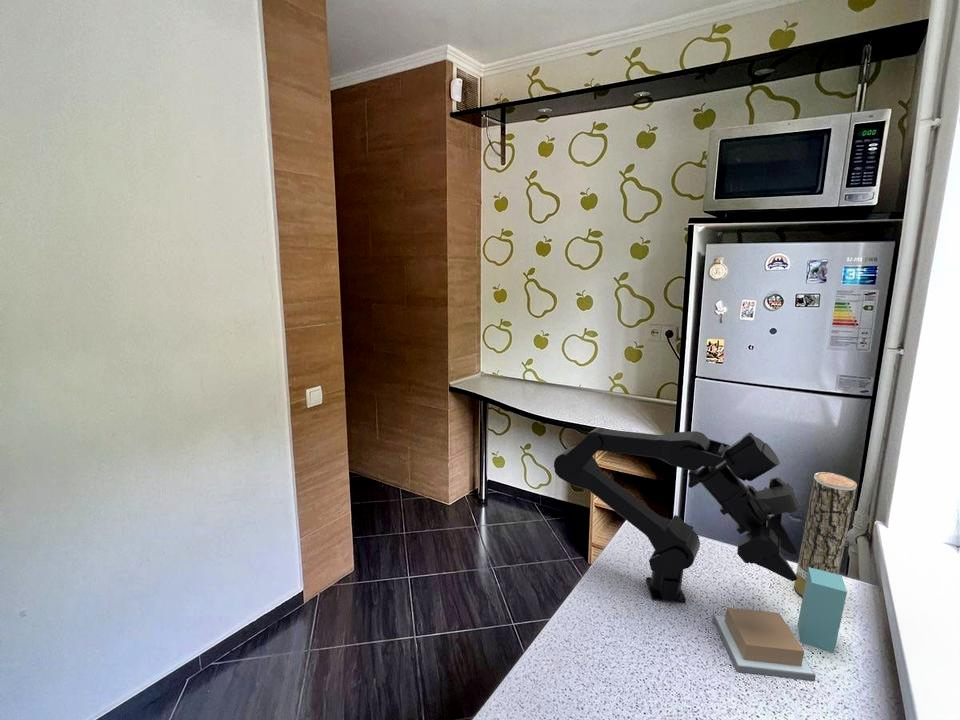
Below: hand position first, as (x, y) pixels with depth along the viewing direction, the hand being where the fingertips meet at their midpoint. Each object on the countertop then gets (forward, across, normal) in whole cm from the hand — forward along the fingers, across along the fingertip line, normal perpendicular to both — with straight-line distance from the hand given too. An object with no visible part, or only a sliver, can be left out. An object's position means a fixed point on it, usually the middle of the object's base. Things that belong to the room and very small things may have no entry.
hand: (795, 566), depth 89 cm
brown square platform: (+7, -6, +12) cm, 15 cm away
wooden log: (+13, +16, +7) cm, 22 cm away
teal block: (+13, +2, +7) cm, 15 cm away
